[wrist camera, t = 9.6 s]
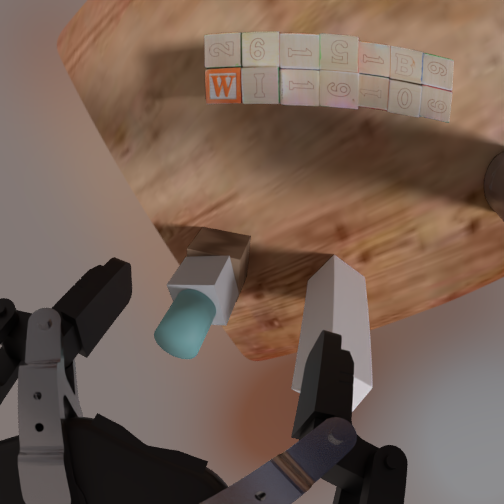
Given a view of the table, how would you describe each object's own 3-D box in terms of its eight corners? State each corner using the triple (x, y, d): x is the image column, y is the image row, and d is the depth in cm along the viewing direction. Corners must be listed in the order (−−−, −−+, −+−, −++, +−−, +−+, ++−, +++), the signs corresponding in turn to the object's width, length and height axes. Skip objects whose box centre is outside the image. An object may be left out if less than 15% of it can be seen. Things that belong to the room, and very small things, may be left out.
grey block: (229, 255, 39) (214, 285, 34) (238, 293, 42) (226, 325, 37) (186, 256, 41) (166, 284, 36) (197, 293, 44) (181, 322, 39)
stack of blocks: (426, 62, 27) (469, 60, 17) (422, 112, 30) (462, 132, 20) (240, 44, 31) (201, 33, 21) (241, 94, 34) (203, 104, 24)
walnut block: (251, 235, 44) (240, 259, 39) (246, 276, 48) (236, 301, 43) (202, 226, 45) (186, 248, 40) (202, 266, 49) (188, 290, 44)
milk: (338, 300, 47) (330, 434, 29) (307, 279, 46) (284, 415, 28) (365, 276, 43) (373, 414, 25) (334, 252, 42) (327, 392, 24)
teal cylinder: (219, 298, 35) (200, 338, 30) (213, 326, 38) (195, 364, 33) (177, 283, 35) (153, 320, 30) (175, 312, 38) (154, 347, 33)
